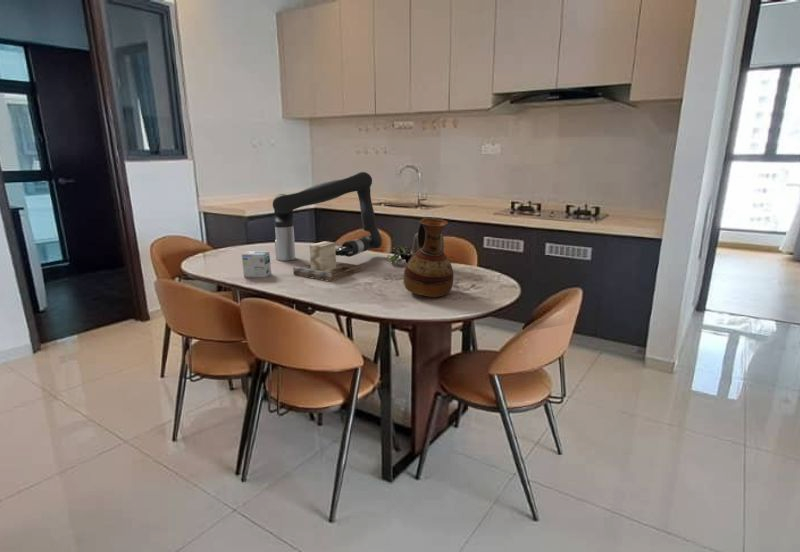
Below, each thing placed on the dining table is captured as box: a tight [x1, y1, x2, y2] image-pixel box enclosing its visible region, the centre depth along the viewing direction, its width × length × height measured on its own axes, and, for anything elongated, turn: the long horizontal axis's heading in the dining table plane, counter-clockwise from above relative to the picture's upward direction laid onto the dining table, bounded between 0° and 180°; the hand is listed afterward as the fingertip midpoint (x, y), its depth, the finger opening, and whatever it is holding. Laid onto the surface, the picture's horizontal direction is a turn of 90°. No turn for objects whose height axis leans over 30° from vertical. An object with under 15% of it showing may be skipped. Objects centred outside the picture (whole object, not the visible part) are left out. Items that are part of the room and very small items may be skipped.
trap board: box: [292, 261, 363, 282], centre depth 217 cm, size 22×23×4 cm
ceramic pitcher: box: [403, 217, 454, 297], centre depth 182 cm, size 20×20×30 cm
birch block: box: [309, 240, 337, 272], centre depth 213 cm, size 6×10×12 cm, turn 148°
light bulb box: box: [241, 250, 272, 278], centre depth 211 cm, size 11×7×11 cm, turn 84°
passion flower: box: [386, 245, 413, 267], centre depth 229 cm, size 11×11×12 cm
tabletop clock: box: [411, 216, 445, 255], centre depth 217 cm, size 14×9×25 cm, turn 83°
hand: (330, 254), depth 217 cm, fingers closed
